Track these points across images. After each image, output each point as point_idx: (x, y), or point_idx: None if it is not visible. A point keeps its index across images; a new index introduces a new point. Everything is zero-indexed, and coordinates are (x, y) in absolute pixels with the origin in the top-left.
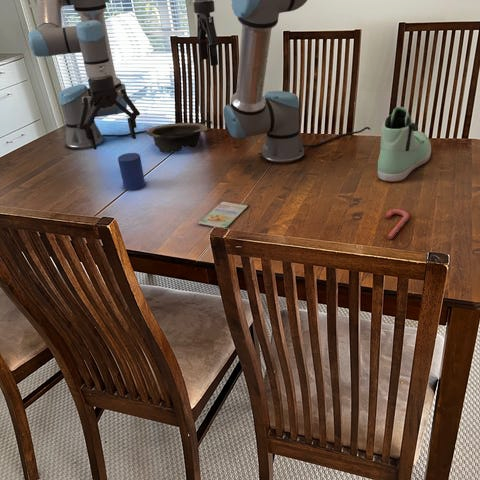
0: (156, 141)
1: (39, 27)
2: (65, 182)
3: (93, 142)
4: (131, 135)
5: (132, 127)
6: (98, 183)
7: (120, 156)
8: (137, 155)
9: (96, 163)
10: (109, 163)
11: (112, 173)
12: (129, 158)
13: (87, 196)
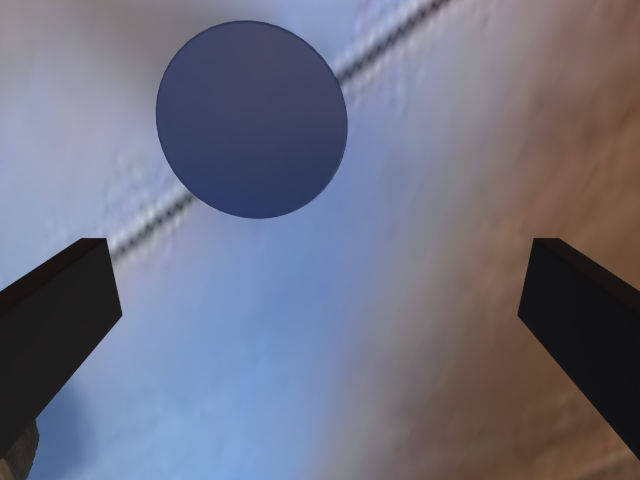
0: (16, 443)
1: None
2: (510, 369)
3: (605, 272)
4: (105, 304)
5: (1, 307)
6: (409, 266)
7: (306, 188)
8: (177, 101)
9: (327, 455)
10: (283, 425)
11: (312, 326)
12: (260, 83)
13: (519, 159)
